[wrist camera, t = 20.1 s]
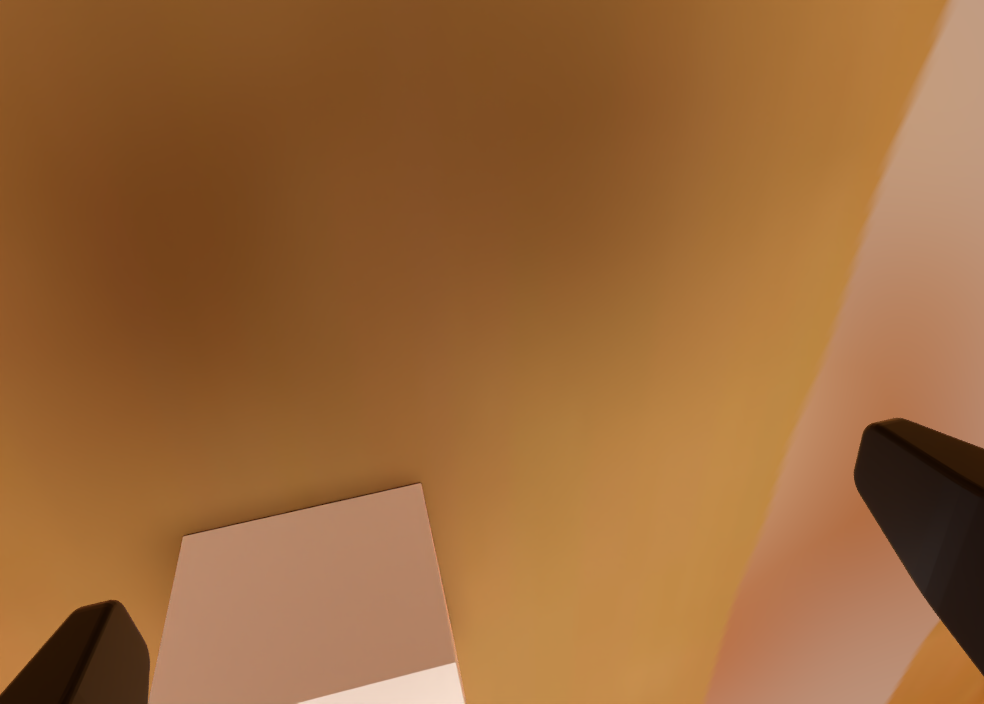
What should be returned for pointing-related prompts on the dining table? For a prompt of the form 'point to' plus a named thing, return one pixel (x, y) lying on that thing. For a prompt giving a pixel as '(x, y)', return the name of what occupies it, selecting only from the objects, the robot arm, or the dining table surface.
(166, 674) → the pale pink cube
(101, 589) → the dining table surface
